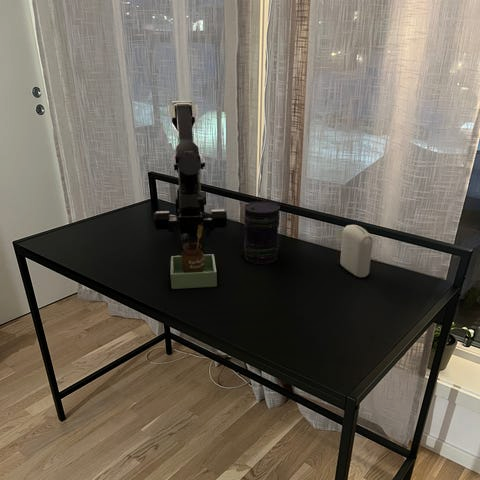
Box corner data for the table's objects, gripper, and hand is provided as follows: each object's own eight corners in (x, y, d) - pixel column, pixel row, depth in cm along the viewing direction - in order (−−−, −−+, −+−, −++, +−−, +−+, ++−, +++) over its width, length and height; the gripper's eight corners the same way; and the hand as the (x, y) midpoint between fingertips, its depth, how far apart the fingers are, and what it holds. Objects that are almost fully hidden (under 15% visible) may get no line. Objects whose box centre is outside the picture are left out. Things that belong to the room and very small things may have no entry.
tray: (172, 269, 142) (170, 256, 140) (214, 267, 143) (213, 254, 141) (171, 288, 132) (170, 274, 130) (217, 286, 133) (216, 272, 131)
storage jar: (269, 247, 154) (270, 199, 147) (284, 260, 147) (286, 209, 139) (238, 253, 151) (238, 204, 143) (252, 266, 143) (252, 214, 136)
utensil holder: (177, 270, 136) (174, 228, 130) (196, 264, 140) (193, 222, 134) (191, 278, 133) (188, 234, 126) (209, 270, 136) (208, 228, 130)
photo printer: (337, 264, 144) (341, 222, 138) (350, 261, 145) (355, 220, 139) (356, 279, 136) (362, 235, 129) (370, 276, 137) (376, 232, 131)
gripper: (150, 180, 127) (151, 239, 123) (225, 178, 128) (228, 236, 125) (155, 201, 138) (156, 255, 134) (225, 199, 139) (227, 253, 135)
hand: (191, 250), depth 132 cm, fingers closed on utensil holder, 5 cm apart
